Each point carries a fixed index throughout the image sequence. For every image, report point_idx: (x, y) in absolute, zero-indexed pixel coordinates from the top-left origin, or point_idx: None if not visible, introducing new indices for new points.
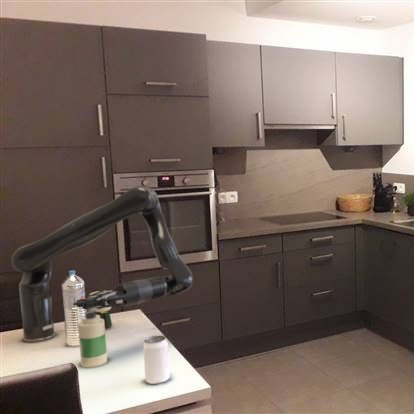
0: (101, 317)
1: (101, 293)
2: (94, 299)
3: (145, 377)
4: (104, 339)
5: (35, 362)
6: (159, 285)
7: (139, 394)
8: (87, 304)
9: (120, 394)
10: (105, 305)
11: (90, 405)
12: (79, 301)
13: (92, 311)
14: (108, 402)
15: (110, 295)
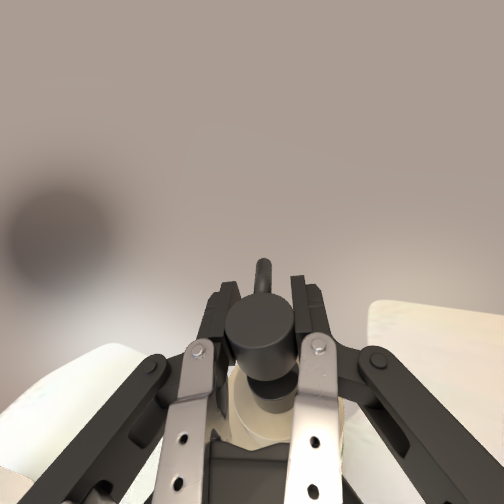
0: None
1: (297, 436)
2: (229, 340)
3: (25, 477)
4: None
5: (422, 350)
6: None
7: (32, 424)
8: (210, 301)
9: (78, 397)
10: (159, 406)
11: (113, 343)
12: (260, 273)
13: (281, 387)
14: (87, 366)
15: (159, 489)
